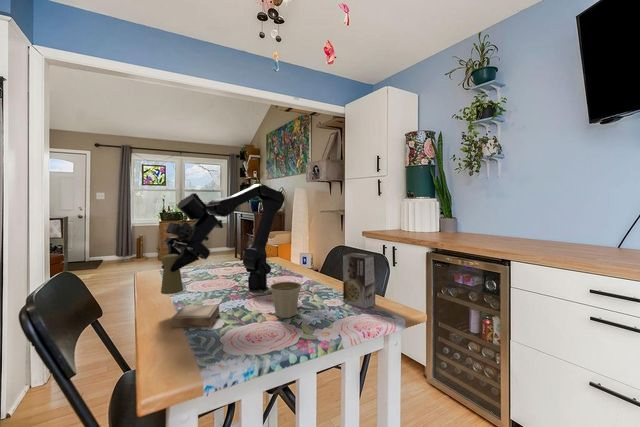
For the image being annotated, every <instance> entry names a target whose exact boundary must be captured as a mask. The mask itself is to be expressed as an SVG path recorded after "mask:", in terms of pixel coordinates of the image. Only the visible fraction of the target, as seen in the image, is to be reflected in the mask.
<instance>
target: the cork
mask: <svg viewBox="0 0 640 427" xmlns="http://www.w3.org/2000/svg"><path fill="white" fill-rule="evenodd" d="M178 257H179V255H177V254H169V255H167V254H165V255H163V257H162V258H161V264H162V265H163V266H164V269H162V270H163V271H162V279H161V288H160V293H161V294H162V295H174V294H178V293H181V292H183V291H184V286H183V280H182V274H181V268H180V269H178V270H177V271H175V272H171V271H170V269H171V267H172V266H173V264H174V263H175V261H176V260H177V258H178Z"/></svg>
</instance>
